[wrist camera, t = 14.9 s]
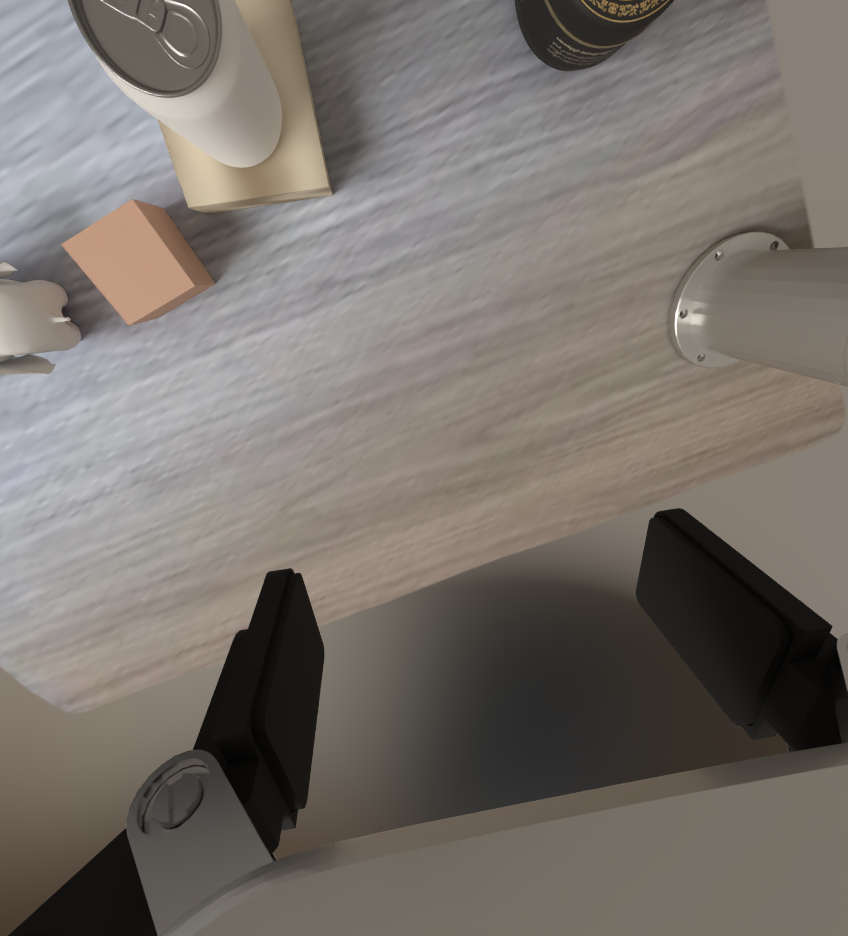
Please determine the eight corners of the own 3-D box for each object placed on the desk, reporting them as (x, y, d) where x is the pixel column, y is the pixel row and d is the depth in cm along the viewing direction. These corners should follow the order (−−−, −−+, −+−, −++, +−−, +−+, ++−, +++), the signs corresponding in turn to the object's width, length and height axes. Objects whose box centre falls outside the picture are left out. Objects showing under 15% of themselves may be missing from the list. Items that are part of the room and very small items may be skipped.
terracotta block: (164, 208, 32) (132, 199, 27) (216, 283, 34) (195, 286, 30) (102, 247, 32) (61, 244, 28) (158, 318, 35) (128, 325, 30)
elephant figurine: (-54, 261, 31) (-159, 260, 25) (83, 263, 32) (15, 262, 26) (-8, 361, 35) (-90, 383, 28) (114, 359, 36) (62, 380, 29)
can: (262, 190, 29) (202, 146, 18) (165, 128, 26) (32, 35, 16) (299, 90, 26) (256, -28, 16) (197, 13, 24) (68, -183, 14)
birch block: (297, 24, 28) (287, -11, 24) (332, 195, 33) (329, 186, 29) (150, 42, 27) (119, 9, 24) (207, 214, 32) (188, 207, 28)
